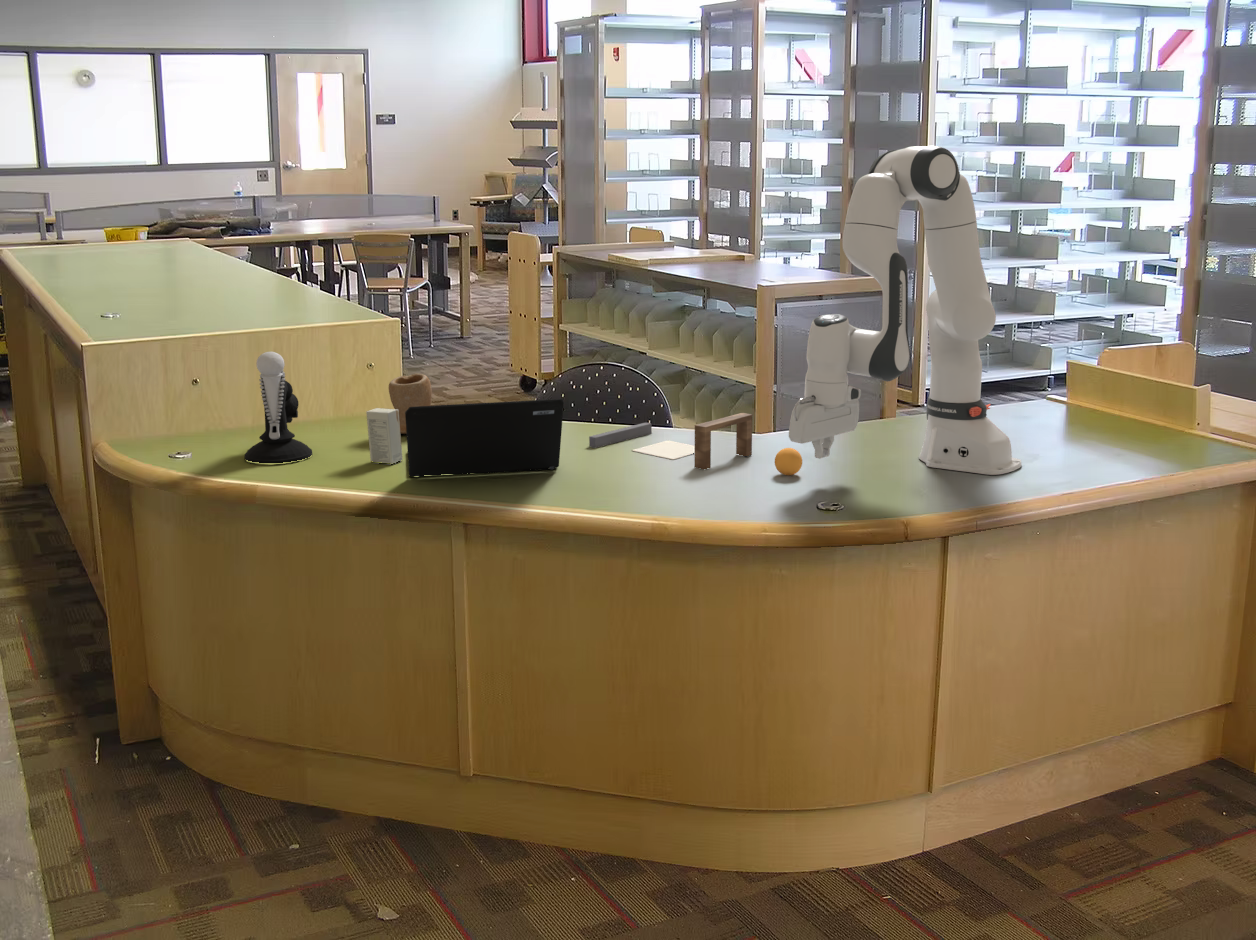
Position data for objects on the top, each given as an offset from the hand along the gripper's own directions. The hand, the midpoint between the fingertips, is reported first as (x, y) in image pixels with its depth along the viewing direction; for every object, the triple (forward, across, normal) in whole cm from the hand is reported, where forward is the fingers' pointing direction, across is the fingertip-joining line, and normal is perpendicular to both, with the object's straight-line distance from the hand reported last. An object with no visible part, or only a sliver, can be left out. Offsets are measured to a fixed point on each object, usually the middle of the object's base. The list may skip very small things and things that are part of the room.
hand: (821, 457), depth 267 cm
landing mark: (+6, 0, +43) cm, 43 cm away
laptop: (+8, -41, +63) cm, 75 cm away
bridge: (+6, 0, +27) cm, 28 cm away
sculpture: (+9, -64, +109) cm, 127 cm away
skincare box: (+8, -52, +84) cm, 99 cm away
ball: (+3, 0, +9) cm, 9 cm away
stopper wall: (+7, -1, +59) cm, 59 cm away
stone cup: (+8, -30, +101) cm, 106 cm away
